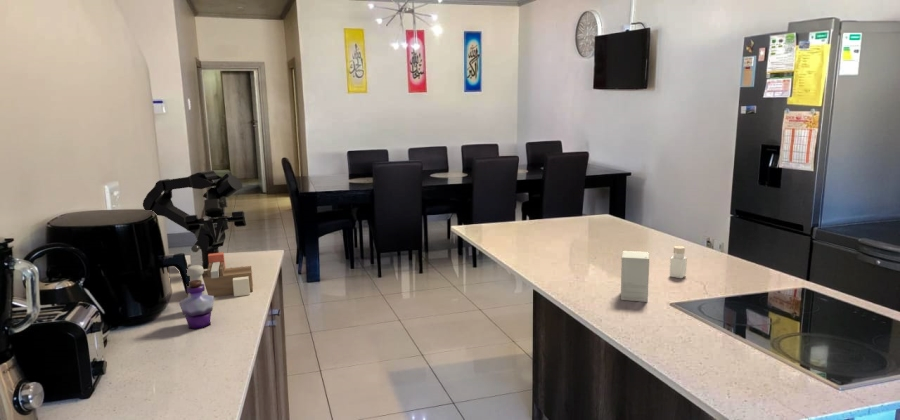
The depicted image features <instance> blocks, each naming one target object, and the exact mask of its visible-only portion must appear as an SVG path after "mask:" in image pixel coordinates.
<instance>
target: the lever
mask: <svg viewBox="0 0 900 420" xmlns="http://www.w3.org/2000/svg"><path fill="white" fill-rule="evenodd" d="M189 256H190V257H189V259H190V260H189V261H190V266H193V265H201V266H202V253H201V249H200V247H199V246H198V245H195V244H193V245H192V246H191V248H190V250H189ZM202 277H203V274H202Z"/></svg>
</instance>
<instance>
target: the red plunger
mask: <svg viewBox="0 0 900 420" xmlns="http://www.w3.org/2000/svg"><path fill="white" fill-rule="evenodd" d="M208 260H209V263H212V268H211V278H219V273H220V264H221V262H224V269H226V261H225V253H224V252H219V253H213V254H208Z"/></svg>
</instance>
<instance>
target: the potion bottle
mask: <svg viewBox="0 0 900 420" xmlns="http://www.w3.org/2000/svg"><path fill="white" fill-rule="evenodd" d="M201 282H202V281H201V280H193V281H189V286H187V285H186V293H187V294H188V293H190V295H191V296H190V297H188V296H187V297H185V298H182V299H181V300H180V301H179V306H180V310H181V311H182V314H183V315H184V317H185V320H186V323H187V325H188V329H190V330H194V331H195V330H201V329H205V328H208V327H209V326H212V325H211V323H212V322H211V317H212V312H213V307H214V299H215V296H210V295H202V292H203V291H205V287H204V284H201Z"/></svg>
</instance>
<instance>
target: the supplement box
mask: <svg viewBox="0 0 900 420" xmlns="http://www.w3.org/2000/svg"><path fill="white" fill-rule="evenodd" d="M620 268H621V276H620V278H621V279H620V301H628V302H629V301H631V302H643V303H644V302H645V303H648V299H649V283H650V282H649V276H650V254H649V252H648V251H637V250H636V251H635V250H634V251H633V250H632V251H629V250H623V251H622V254H621V267H620Z"/></svg>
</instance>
